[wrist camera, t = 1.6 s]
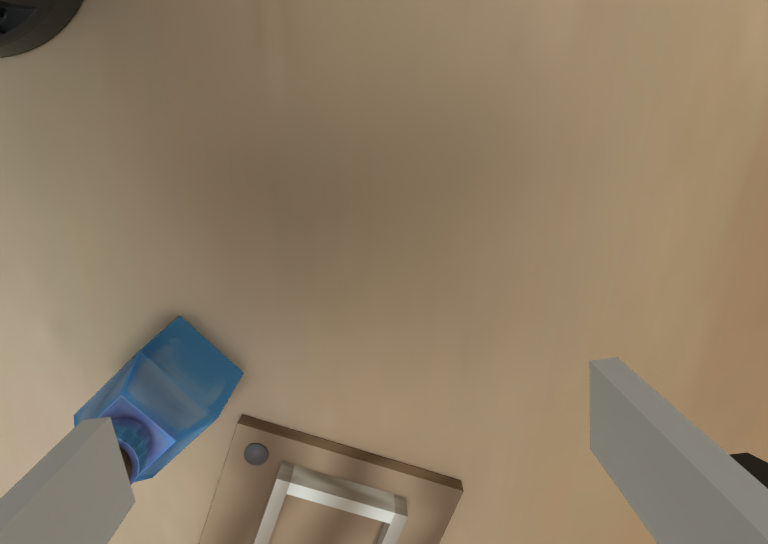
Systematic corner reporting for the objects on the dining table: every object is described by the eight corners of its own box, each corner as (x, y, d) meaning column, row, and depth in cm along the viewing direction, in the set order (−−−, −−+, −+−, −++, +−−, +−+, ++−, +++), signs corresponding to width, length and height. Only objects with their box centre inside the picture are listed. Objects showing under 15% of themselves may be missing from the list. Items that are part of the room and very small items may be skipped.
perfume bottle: (188, 423, 37) (103, 551, 25) (124, 370, 36) (3, 477, 24) (243, 372, 36) (181, 480, 24) (179, 315, 35) (82, 400, 23)
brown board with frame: (195, 557, 40) (180, 592, 37) (242, 414, 37) (229, 439, 34) (399, 612, 42) (402, 649, 39) (460, 480, 39) (468, 509, 35)
